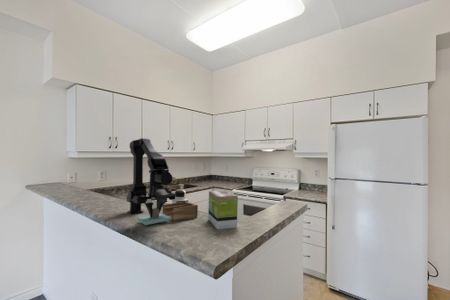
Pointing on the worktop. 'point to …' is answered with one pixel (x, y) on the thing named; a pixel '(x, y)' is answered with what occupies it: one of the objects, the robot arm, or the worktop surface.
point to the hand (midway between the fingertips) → (154, 216)
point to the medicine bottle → (180, 196)
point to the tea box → (223, 209)
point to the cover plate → (150, 221)
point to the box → (180, 211)
